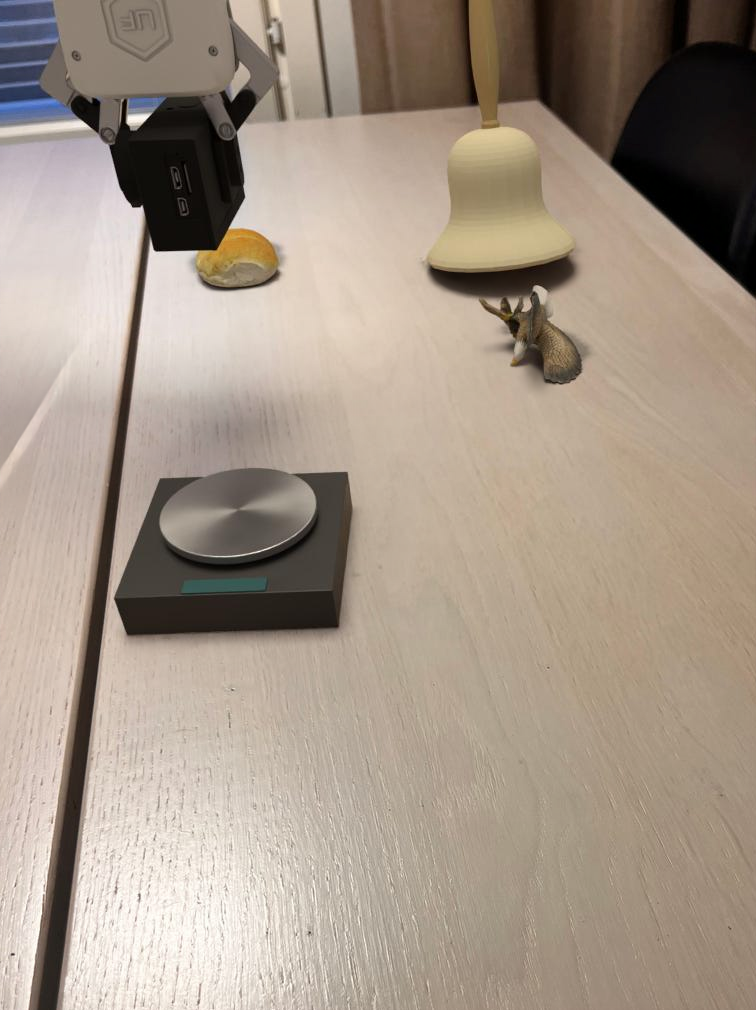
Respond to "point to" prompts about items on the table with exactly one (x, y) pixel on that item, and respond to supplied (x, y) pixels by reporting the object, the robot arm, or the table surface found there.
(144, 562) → the scale
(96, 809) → the table surface
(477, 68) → the handbell
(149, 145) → the digital camera
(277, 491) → the scale pan
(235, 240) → the bread roll
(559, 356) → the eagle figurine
